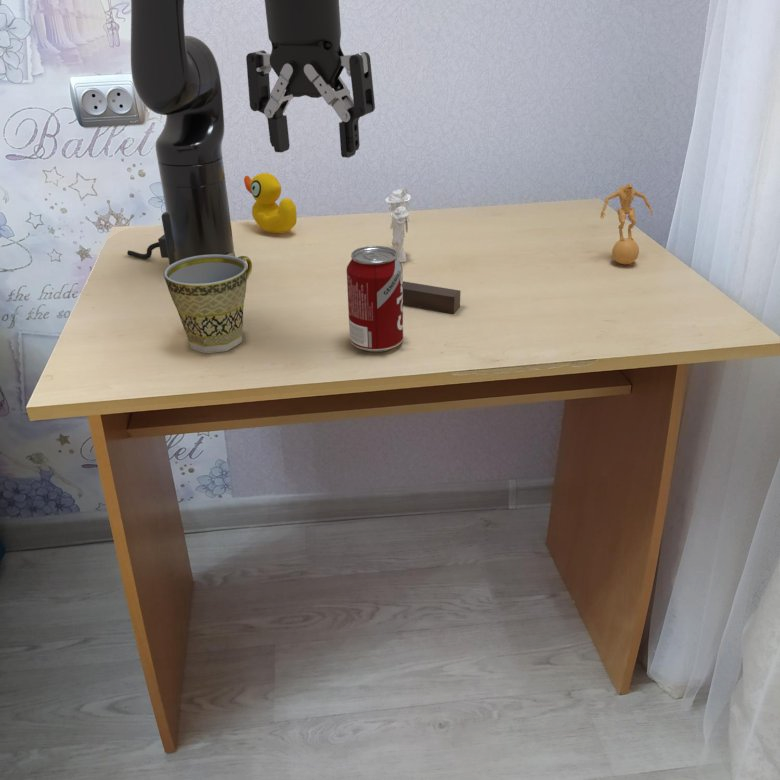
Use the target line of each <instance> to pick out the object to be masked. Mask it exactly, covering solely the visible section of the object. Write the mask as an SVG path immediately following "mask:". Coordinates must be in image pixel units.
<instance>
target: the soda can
mask: <svg viewBox="0 0 780 780" xmlns="http://www.w3.org/2000/svg"><path fill="white" fill-rule="evenodd" d="M350 258H351V259H350V261H349V263H348V264H347V266H346V285H347V286H346V288H347V310H348V328H349V329H348V331H349V332H348V333H349V341H350V343H351V345H353V346H354V347H355V348H358V349H359V350H362V351H365V352H369V353H383V352H388V351H390V350H392V349H393V348H396V347H398V346H400V344H402V342H403V340H404V305H403V281H404V280H403V279H404V278H403V275H404V273H403V271H404V270H403V269H404V268H403V265H402V262H399V261H398V259H397V252H396V251H395V250H394V249H393V247H390V246H389V247H388V246H384V245H367V246H362V247H358V248H356V249H354V250H353V251H352V252H351V254H350Z"/></svg>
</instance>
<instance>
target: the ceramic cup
mask: <svg viewBox="0 0 780 780" xmlns="http://www.w3.org/2000/svg"><path fill="white" fill-rule="evenodd" d="M252 269H253V263H252V260H251V258H250V257H248V256H246V255H241V256H238V257H237V256H235V257H234V256H229V255H219V254H211V255H200V256H194V257H189V258H185V259H182V260H179V261H177V262H175V263H173V264H171V265H170V264H169V265H168V266H167V267H166V268H165V269H164V271H163V278H164V280H165V284H166V286H167V289H168V292H169V294H170V297H171V300H172V301H173V304H174V306H175V309H176V311H177V313H178V316H179V319H180V321H181V325H182V327H183V329H184V333H185V335H186V339H187V341H188V342H189V343H188V344H189V346H190V348H191V349H192V350H194V351H197V352H200V353H203V354H213V353H214V354H215V353H222V352H223V353H224V352H228V351H231V350H232V349H233V348H235V347H236V346H238V345H240V344H241V343H242V342H243V324H244V310H245V309H244V307H245V299H246V293H247V280H248V279H249V277H250V275H251V273H252Z"/></svg>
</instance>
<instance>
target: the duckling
mask: <svg viewBox="0 0 780 780" xmlns="http://www.w3.org/2000/svg"><path fill="white" fill-rule="evenodd" d="M243 184H244V187H245V189H246V190H247V192H248V193H250V194H251V195H252V197H253V199H254V200H255V202H254V203H253V205H252V206H251V207H252V208H251V215H252V218H253V220H254V222H255V223H256V225H257V226H258V227H259V228H260V229H261V230H262V231H264V232H268V233H271V234H272V233H273V234H283V233H287V232H289V231H291V230H292V229H294V227H295V226H296V224H297V219H298V216H297V207H296V205H295V203H294V201H293V200H292V199H291V198H288V197H285V198H282V199H281V200H280V201H279V203H277V201H278V200H279V198H280V197H281V193H282V186H281V184H280V182H279V180H278V178H277V177H276V176H274V175H273V174H272V173H269V172H261V173H258V174H256V175H254V176H253V177H252V178H251V177H250V176H249V175H245V176H244V179H243Z"/></svg>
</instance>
